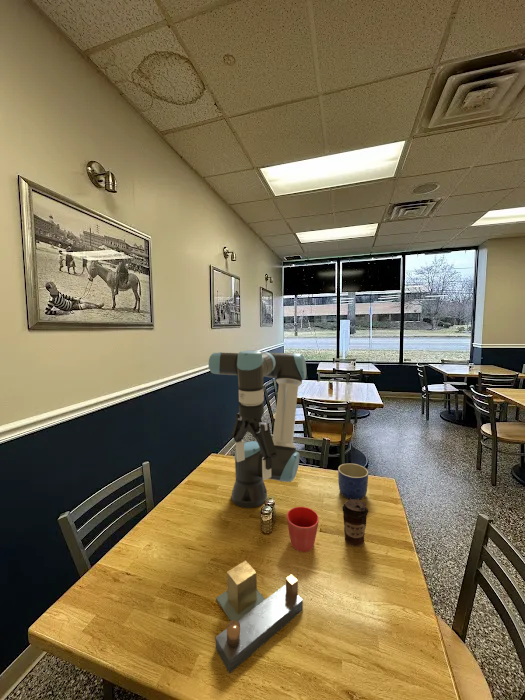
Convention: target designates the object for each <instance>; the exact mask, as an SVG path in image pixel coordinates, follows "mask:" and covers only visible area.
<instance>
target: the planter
mask: <svg viewBox="0 0 525 700" xmlns="http://www.w3.org/2000/svg"><path fill="white" fill-rule="evenodd" d="M337 469H338V470H337V472H338V473H337V475H338V476H337V477H338V479H337V480H338V488H339V489H338V490H339V492H340V494H341V495H342V496H343V497H345V498H346V499H348V500H351V499H356V500H362V499H365V497H366V495H367V492H368V484H369V483H368V481H369V471H368V469H367V468H366V467H365V466H363V465H360V464H357V463H343V464H340V465H339V466H338V468H337Z"/></svg>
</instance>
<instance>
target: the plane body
mask: <svg viewBox="0 0 525 700" xmlns="http://www.w3.org/2000/svg"><path fill="white" fill-rule="evenodd" d="M298 583H299V580H298V579H297V578H296V577H295V576H294V575H293V574H290V575H288V576H287V577H285V584H284V585H283V586H281V587H280V588H279V589H278V590H276V591H275V592H274V593H272V594H271V595H269V596H268V597H267V598H265V600H264V601H263V602H261V603H260V604H259V605H257V606H256V607H255V608H253V609H252V610H251V611H249V612H248V613H247V614H245V615H244V616H243V617H241V618H240V619H239V620H237V621H235V620H233V621H230V620H229V622H228V623H227V626H226V628H225V629H224V630H223V631H221V632H220V633H219V634H217V635H216V636H215V641H214V642H215V650H216V652H217V654H218V656H219V658H220V660H221V662H222V663H223V665H224V666H225V668H226V669H227V672H228V673H229V675H230V674H231V673H233V671H234V670H236V669H237V668H238V667H240V665H241V664H243V663H244V662H245V661H246V660H247V659H249V658H250V657H251V656H252V655H253V654H254V653H255V652H257V651H259V649H260V648H261V647H262V646H263V645H265V643H267V642H268V641H270V639H272V638H273V637H274V636H275V635H276V634H277V633H278V632H280V631H281V630H282V629H283V628H285V626H286V625H288V624H289V623H290V622H291V621H292V620H293V619H295V618H296V617H297V616H299V614H300V613H302V612H303V611H304V609H303V605H304V603H303V601H304V600H303V598H302V597H300V595H299V590H298V589H299V588H298V587H299V584H298Z"/></svg>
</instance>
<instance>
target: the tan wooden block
mask: <svg viewBox="0 0 525 700" xmlns="http://www.w3.org/2000/svg"><path fill="white" fill-rule="evenodd" d="M257 578H258V577H257V571H256V570H255V569H254V568H253V567H252V566H251V564H249V562H248V561H247V560H243V562H241V563H239V564H237V565H236V566H234V567H233V568H231V569H229V570H228V571H227V572H226V585H227V586H226V589H227V590H226V591H227V599H228V601H229V603H230V604H231V606H232V607H233V608H234V610H235V611H236V613H237V614H239V613H241V612H242V611H243V610H245V609H246V608H247V607H249V606H250V605H251V604H253V603H254V602H255V601H257V590H258V589H257V584H258V583H257Z"/></svg>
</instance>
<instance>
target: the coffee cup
mask: <svg viewBox="0 0 525 700" xmlns="http://www.w3.org/2000/svg"><path fill="white" fill-rule="evenodd" d="M342 513H343V514H342V515H343V516H342V517H343V526H344V527H343V528H344V529H343V531H344V540H345V542H346V543H347V545H349V546H351V547H357V548H360V547H362V546H363V545H365V532H366V527H367V517H368V514H369V508H368V507H367V504H366V503H365V502H364V501H362V500H361V499H359V500H356V499H348V500H346V501H345V502H344V504H343V505H342Z"/></svg>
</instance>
